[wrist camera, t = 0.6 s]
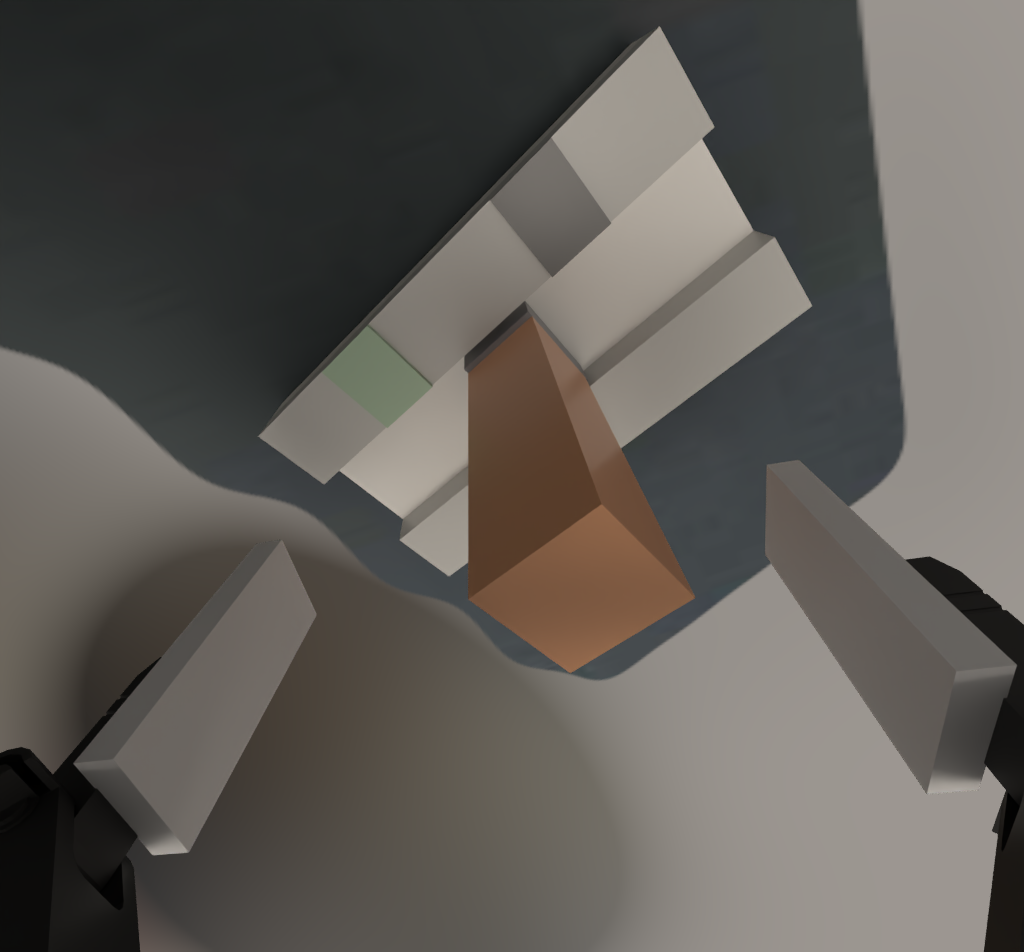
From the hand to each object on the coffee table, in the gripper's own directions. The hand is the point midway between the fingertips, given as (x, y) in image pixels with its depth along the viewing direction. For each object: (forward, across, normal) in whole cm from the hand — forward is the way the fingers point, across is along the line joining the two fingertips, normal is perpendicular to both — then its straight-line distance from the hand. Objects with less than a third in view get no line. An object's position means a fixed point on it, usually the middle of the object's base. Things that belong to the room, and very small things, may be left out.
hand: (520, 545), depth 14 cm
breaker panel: (+10, 0, +3) cm, 10 cm away
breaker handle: (+8, +1, +3) cm, 9 cm away
